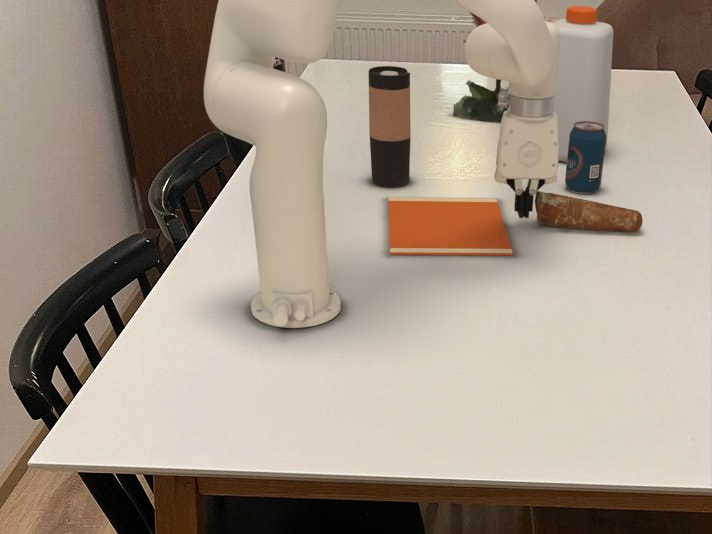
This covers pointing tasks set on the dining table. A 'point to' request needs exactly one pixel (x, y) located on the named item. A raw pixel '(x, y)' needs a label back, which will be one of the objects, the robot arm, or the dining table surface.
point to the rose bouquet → (484, 94)
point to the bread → (584, 214)
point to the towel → (447, 227)
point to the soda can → (585, 157)
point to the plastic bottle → (582, 72)
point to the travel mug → (389, 125)
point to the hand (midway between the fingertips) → (522, 215)
